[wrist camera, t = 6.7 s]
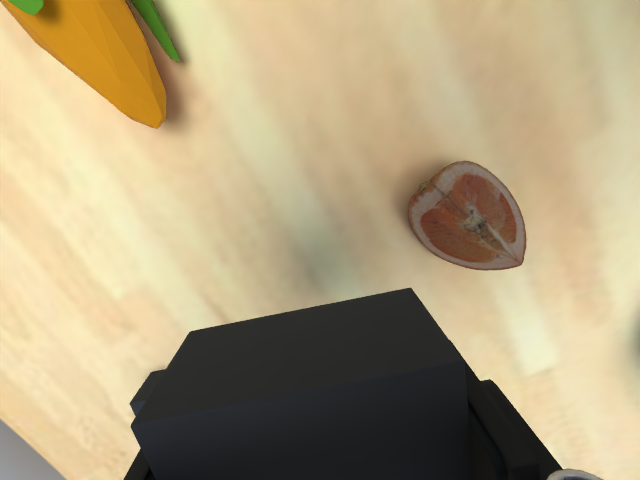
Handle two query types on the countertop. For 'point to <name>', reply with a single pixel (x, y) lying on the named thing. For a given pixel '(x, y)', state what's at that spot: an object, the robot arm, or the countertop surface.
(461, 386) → the tab pad
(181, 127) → the countertop surface
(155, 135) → the countertop surface
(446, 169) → the fruit slice
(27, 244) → the countertop surface
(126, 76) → the corn
